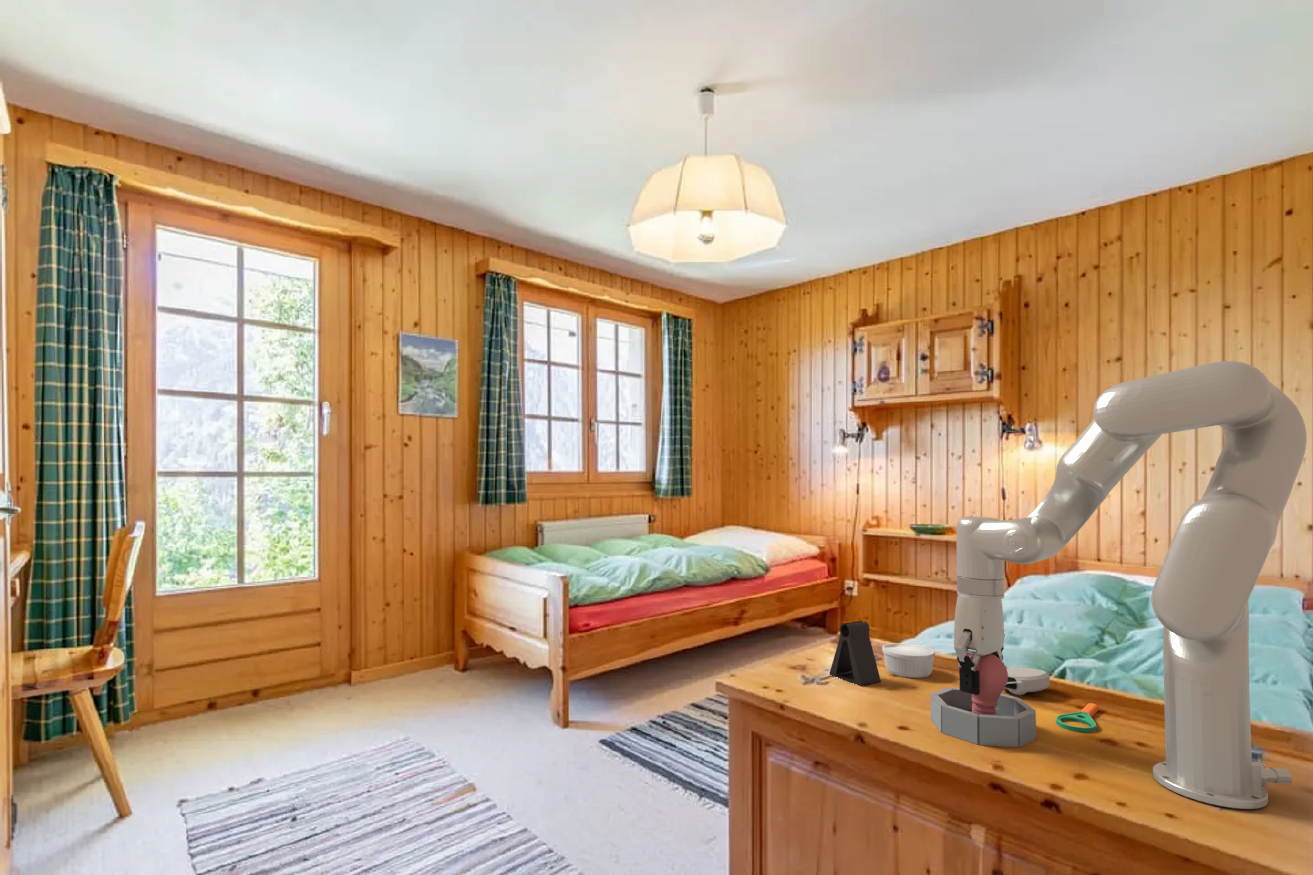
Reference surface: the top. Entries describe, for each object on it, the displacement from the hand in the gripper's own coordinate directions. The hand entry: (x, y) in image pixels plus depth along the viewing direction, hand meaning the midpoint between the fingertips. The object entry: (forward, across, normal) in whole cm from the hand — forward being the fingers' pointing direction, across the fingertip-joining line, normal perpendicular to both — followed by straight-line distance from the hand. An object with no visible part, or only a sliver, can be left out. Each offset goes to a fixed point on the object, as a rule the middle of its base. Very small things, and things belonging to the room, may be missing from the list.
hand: (981, 687), depth 117 cm
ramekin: (+7, -21, -26) cm, 34 cm away
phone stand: (+7, -7, -30) cm, 32 cm away
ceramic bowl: (+7, 0, 0) cm, 7 cm away
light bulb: (+6, 0, 0) cm, 6 cm away
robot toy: (+7, -28, -7) cm, 30 cm away
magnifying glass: (+8, -19, +10) cm, 23 cm away
